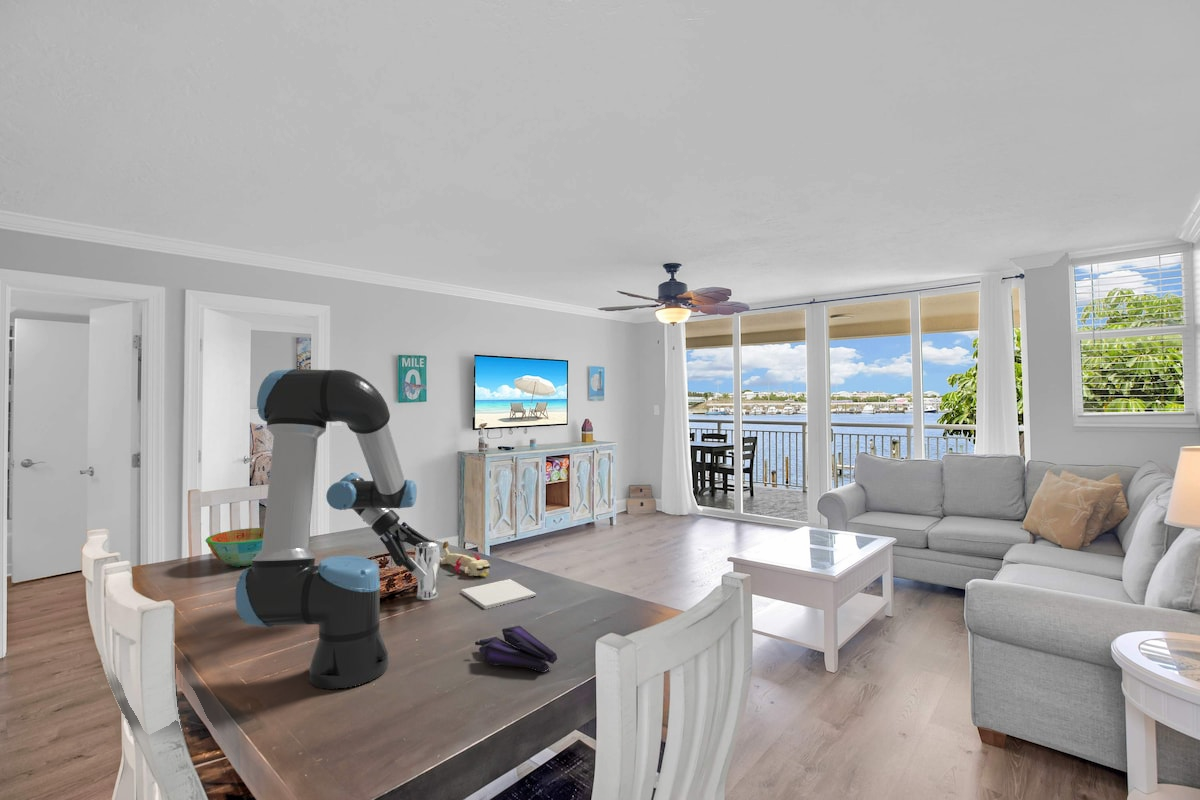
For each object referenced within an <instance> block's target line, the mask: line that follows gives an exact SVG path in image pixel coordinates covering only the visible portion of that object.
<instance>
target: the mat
mask: <svg viewBox="0 0 1200 800" xmlns="http://www.w3.org/2000/svg"><path fill="white" fill-rule="evenodd" d="M460 590H461V591H460V592H461V594H462V595H464V596H465V597H466V596H467V599H469V600H471V601H472V602H474V603H475V604H477V605H478V606H480V607H481V608H483V610H487V609H488V608H489V609H493V608H497V607H501V606H504V605H503V604H505V605H508V604H507V603H510V602H514V601H517V600H521V599H525V598H528V597H533V596H536V597H537V593H536V592H534V591H532V590H531V589H529V588H527V587H525V586H523V585H521V584H520V583H518V582H516V581H514V580H512V579H510V578H509V579H504V580H500V581H494V582H490V583H486V584H481V585H477V586H476V585H475V586H470V587H466V588H462V589H460ZM514 603H515V602H514ZM510 604H511V603H510ZM500 605H501V606H500ZM496 606H497V607H496ZM492 607H493V608H492Z"/></svg>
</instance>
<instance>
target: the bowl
mask: <svg viewBox="0 0 1200 800" xmlns="http://www.w3.org/2000/svg"><path fill="white" fill-rule="evenodd" d="M263 534H264V527H250V528H249V527H248V528H239V529H233V530H229V531H223V532H219V533H215V534H212V535H210V536H208V537H207V538H205V543H207V545H208V547H209V548H210V551H211V553H212V554H213V555H214V556H215V557H216V559H217V560H219V562H220V561H221V562H222V563H223V564H227V565H230V566H232V567H234V566H235V567H234V568H241V567H240V566H246V567H250V566H249V565H251V566H252V559H253V558H254V557H255V556H256V555H257V554H258V553H260V551H261V550H262V543H263Z"/></svg>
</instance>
